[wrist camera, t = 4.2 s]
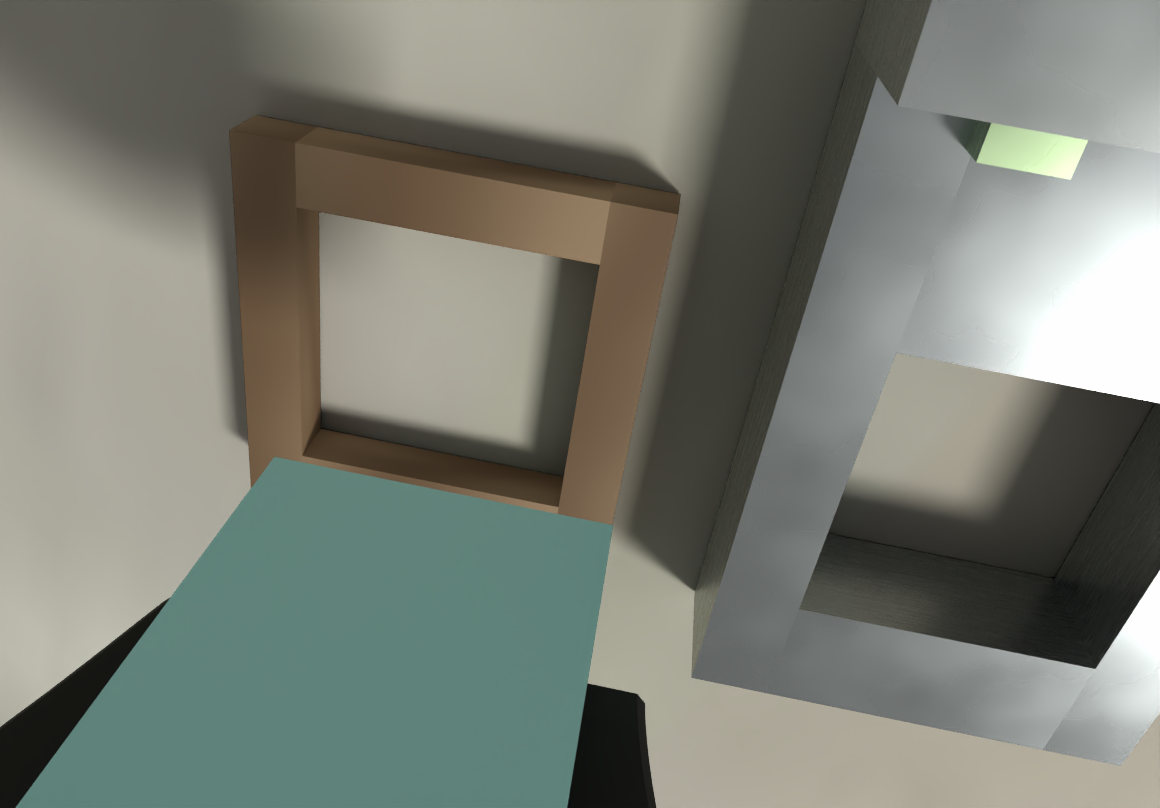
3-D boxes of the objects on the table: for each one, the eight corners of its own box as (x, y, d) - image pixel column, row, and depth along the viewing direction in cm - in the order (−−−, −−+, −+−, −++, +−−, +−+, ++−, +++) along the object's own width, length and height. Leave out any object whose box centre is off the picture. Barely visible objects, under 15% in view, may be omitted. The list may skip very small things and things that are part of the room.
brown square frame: (680, 194, 15) (677, 214, 14) (609, 528, 19) (604, 560, 18) (255, 115, 16) (228, 130, 15) (271, 460, 20) (251, 488, 19)
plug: (613, 524, 10) (523, 1073, 6) (565, 747, 13) (472, 1277, 8) (274, 456, 11) (-81, 936, 6) (284, 686, 13) (29, 1173, 8)
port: (1485, 37, 13) (1763, 106, 9) (1078, 671, 20) (1154, 842, 16) (886, -67, 13) (944, -38, 10) (694, 593, 20) (689, 745, 17)
